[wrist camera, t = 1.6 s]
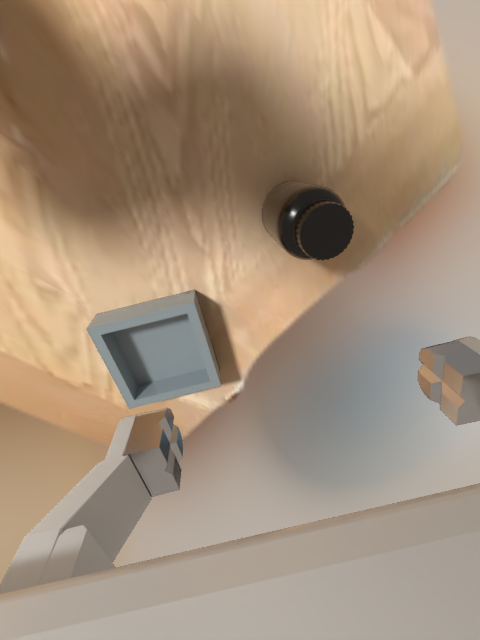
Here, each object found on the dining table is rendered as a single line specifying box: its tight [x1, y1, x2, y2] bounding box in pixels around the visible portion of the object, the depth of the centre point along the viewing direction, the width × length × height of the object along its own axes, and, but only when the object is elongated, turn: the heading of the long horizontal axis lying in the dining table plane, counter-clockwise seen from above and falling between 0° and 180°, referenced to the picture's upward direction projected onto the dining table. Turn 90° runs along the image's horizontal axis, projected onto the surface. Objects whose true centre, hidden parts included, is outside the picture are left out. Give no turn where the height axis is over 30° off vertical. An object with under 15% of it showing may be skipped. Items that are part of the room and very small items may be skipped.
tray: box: [87, 290, 221, 409], centre depth 40 cm, size 13×13×4 cm
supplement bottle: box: [262, 181, 354, 260], centre depth 30 cm, size 7×7×12 cm
